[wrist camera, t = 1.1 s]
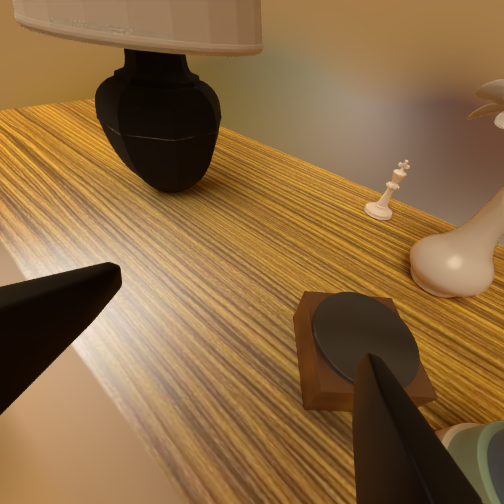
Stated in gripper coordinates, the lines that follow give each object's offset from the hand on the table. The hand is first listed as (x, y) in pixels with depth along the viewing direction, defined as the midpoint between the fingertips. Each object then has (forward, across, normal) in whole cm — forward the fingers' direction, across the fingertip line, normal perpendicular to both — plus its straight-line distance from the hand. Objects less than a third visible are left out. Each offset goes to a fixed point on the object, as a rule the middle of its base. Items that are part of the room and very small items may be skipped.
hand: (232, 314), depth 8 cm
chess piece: (+42, -14, +6) cm, 45 cm away
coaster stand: (+12, -9, +14) cm, 21 cm away
